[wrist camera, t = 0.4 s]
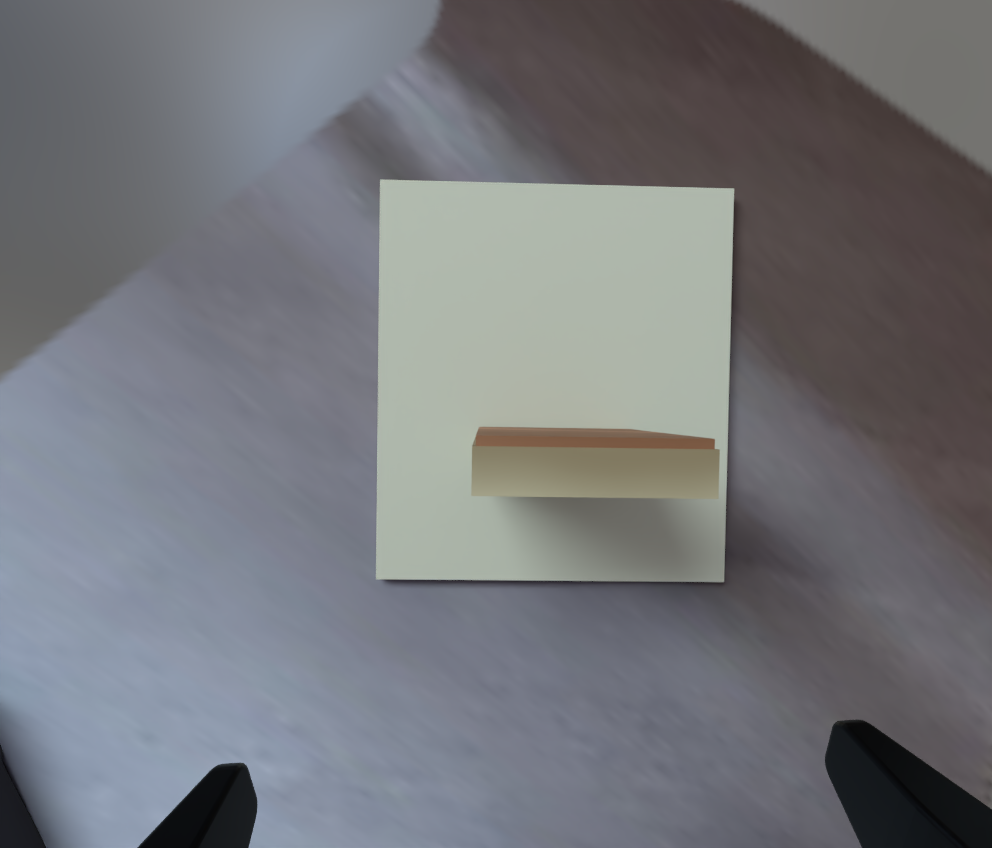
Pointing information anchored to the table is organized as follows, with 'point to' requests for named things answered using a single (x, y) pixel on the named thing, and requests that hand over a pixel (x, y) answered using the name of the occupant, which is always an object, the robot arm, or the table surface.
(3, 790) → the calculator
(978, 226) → the table surface
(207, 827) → the robot arm
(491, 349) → the mat
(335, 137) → the table surface
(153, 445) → the table surface
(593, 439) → the tile
